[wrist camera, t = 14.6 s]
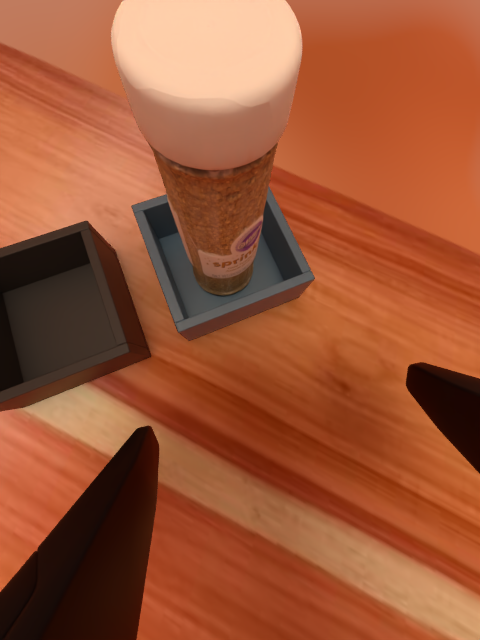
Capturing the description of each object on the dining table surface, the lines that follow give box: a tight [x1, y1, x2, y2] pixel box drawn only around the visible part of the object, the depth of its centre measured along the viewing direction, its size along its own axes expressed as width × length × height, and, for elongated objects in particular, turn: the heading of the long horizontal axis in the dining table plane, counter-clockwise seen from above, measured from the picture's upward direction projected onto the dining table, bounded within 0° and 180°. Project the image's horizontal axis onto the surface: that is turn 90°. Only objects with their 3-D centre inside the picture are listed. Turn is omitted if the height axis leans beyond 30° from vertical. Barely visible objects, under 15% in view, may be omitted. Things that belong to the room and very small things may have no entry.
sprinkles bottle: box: [111, 0, 302, 296], centre depth 12 cm, size 5×5×14 cm
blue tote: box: [132, 186, 315, 341], centre depth 17 cm, size 9×9×4 cm
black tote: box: [0, 221, 151, 411], centre depth 16 cm, size 9×9×4 cm
